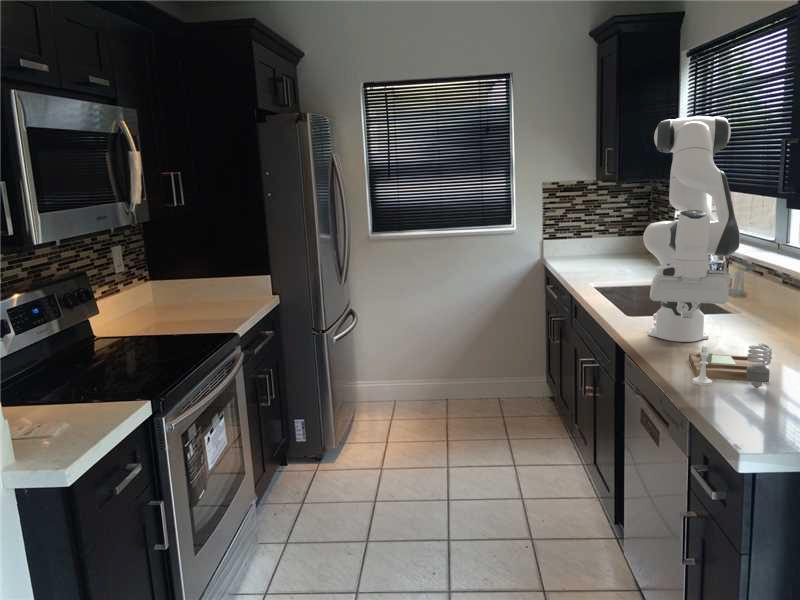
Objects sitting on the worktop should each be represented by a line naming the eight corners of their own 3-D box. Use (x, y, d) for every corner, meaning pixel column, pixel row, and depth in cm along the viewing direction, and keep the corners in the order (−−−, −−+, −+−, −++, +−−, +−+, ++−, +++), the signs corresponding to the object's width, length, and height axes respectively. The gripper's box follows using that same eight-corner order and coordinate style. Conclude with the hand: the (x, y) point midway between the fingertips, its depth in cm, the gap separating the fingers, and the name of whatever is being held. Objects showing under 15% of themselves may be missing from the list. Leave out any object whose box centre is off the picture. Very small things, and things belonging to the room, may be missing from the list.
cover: (700, 356, 194) (701, 346, 194) (730, 358, 192) (731, 347, 191) (704, 365, 187) (705, 353, 186) (735, 367, 184) (737, 355, 184)
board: (688, 360, 199) (689, 350, 198) (755, 365, 194) (756, 354, 194) (696, 377, 184) (697, 366, 183) (768, 382, 179) (769, 371, 179)
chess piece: (706, 379, 183) (709, 344, 181) (715, 385, 178) (718, 349, 176) (688, 380, 182) (691, 344, 180) (697, 386, 178) (700, 349, 176)
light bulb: (758, 392, 172) (762, 347, 169) (739, 386, 177) (743, 342, 175) (773, 389, 174) (778, 345, 172) (754, 383, 179) (758, 339, 177)
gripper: (729, 268, 186) (724, 317, 189) (651, 266, 192) (648, 313, 195) (733, 272, 180) (729, 322, 183) (652, 269, 186) (649, 318, 189)
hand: (686, 317), depth 189 cm, fingers closed
